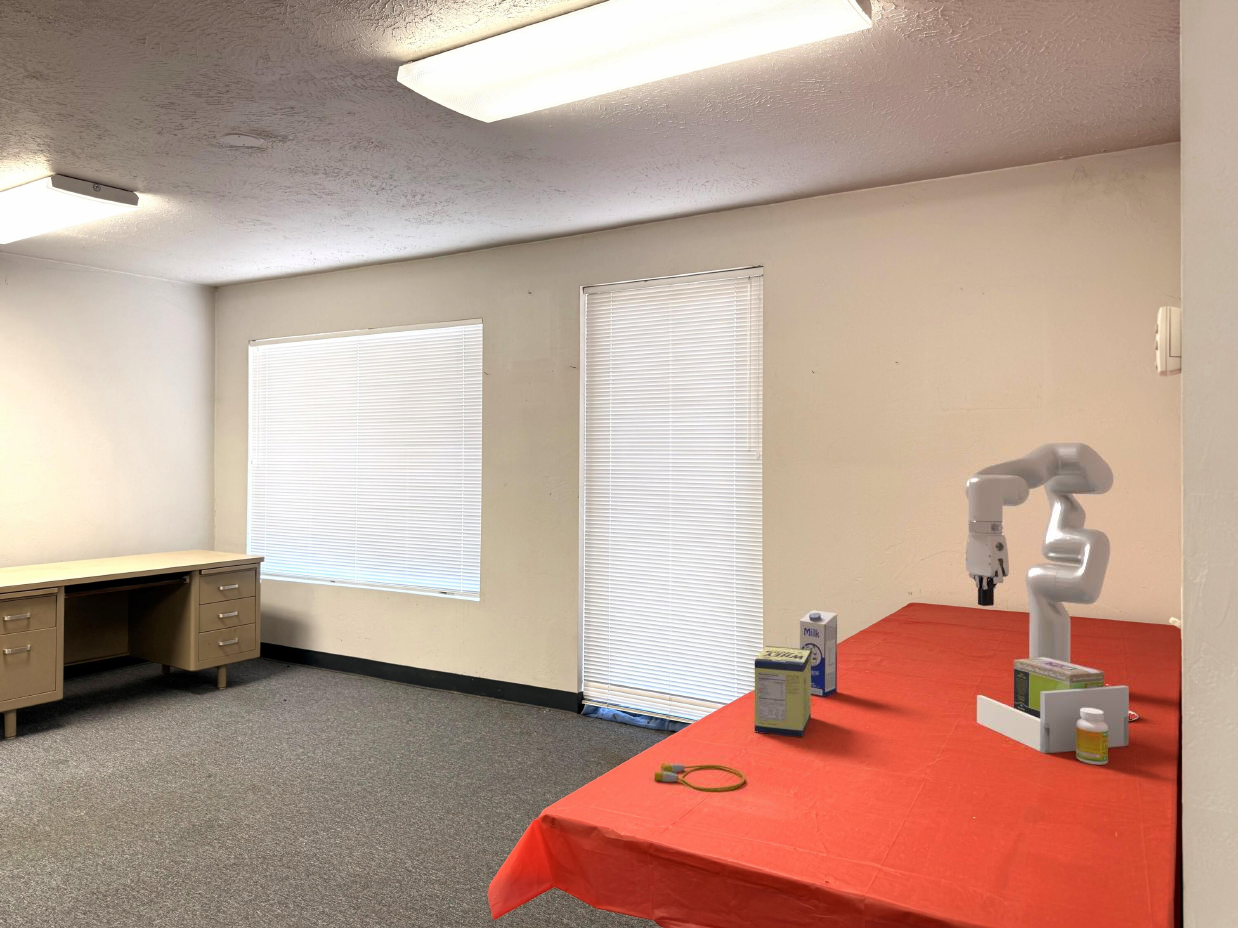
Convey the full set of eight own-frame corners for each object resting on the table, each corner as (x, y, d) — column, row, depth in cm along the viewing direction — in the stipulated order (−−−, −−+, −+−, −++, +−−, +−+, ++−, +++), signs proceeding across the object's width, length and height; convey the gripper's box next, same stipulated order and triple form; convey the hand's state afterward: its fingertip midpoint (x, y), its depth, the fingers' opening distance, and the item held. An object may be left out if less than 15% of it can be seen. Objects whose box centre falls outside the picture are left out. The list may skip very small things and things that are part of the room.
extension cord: (678, 761, 159) (678, 751, 159) (754, 778, 151) (754, 767, 151) (647, 781, 149) (647, 770, 149) (726, 801, 140) (726, 789, 140)
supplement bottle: (1107, 767, 156) (1107, 716, 156) (1075, 761, 159) (1075, 711, 159) (1108, 758, 161) (1108, 709, 161) (1076, 753, 164) (1077, 704, 164)
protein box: (811, 717, 186) (811, 648, 186) (803, 738, 172) (803, 664, 172) (765, 712, 190) (765, 644, 190) (753, 732, 175) (753, 659, 175)
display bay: (1053, 716, 188) (1054, 663, 188) (1128, 745, 168) (1128, 686, 168) (976, 722, 183) (977, 668, 183) (1044, 753, 163) (1044, 693, 163)
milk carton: (837, 691, 207) (837, 612, 207) (824, 697, 202) (824, 616, 202) (812, 686, 212) (812, 609, 212) (798, 691, 207) (799, 612, 207)
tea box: (1106, 741, 171) (1106, 670, 171) (1069, 747, 167) (1070, 674, 167) (1046, 720, 185) (1046, 654, 185) (1011, 725, 182) (1011, 658, 182)
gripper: (1021, 530, 189) (1021, 610, 190) (978, 525, 204) (978, 599, 204) (993, 531, 188) (993, 611, 188) (951, 526, 202) (952, 600, 202)
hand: (985, 605), depth 196 cm, fingers closed
